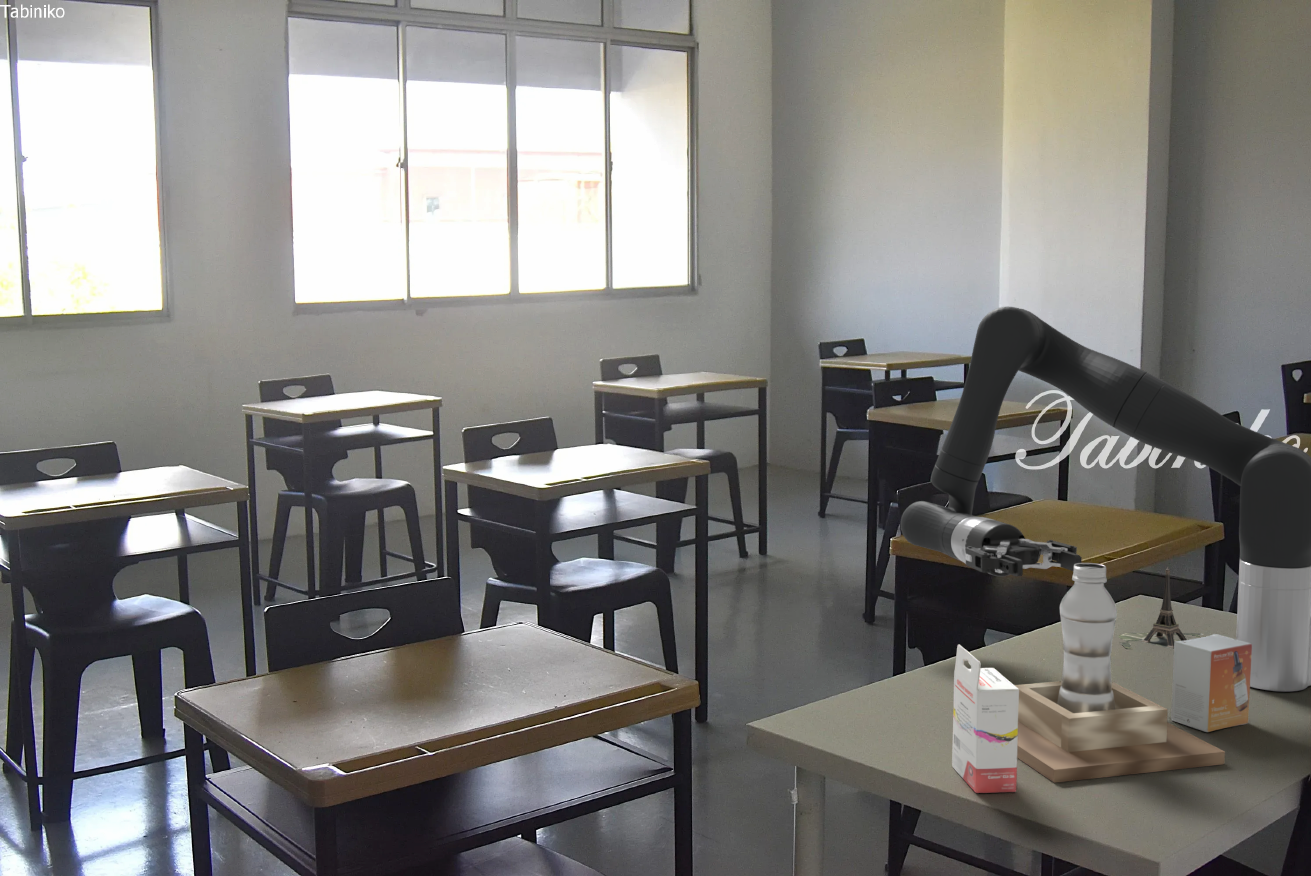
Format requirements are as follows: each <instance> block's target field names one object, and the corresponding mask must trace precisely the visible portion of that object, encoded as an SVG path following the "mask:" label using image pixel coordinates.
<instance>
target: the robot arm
mask: <svg viewBox="0 0 1311 876" xmlns="http://www.w3.org/2000/svg"><path fill="white" fill-rule="evenodd" d="M968 367H969V368H968V371H967V374H966V378H965V382H964V386H963V390H962V393H961V395H960V399H959V402H958V405H957V408H956V410H955V412H954V413H955V414H954V416H953V420H952V421H951V424H950V426H949V428H948V432H947V434H946V437H945V439H944V441H943V444H942V447H941V449H940V452H939V454H938V456H937V459H936V461H935V464H934V467H933V469H932V472H931V475H930V482H931V484H932V485H933V487H935V488H936V489H937V490H939V491H940V492H943V493H944V494H945V495H948V506H947V507H946V506H943V505H940V504H936V503H931V502H929V501H924V500H921V501H920V500H919V501H915V502H913V503H911V504H910V505H909V506H908V507H906V509H904V511H903V513H902V515H901V518H900V530H901V534H902V536H903V538H904V539H905V541H907V542H908V543H910V544H911V545H913V546H917V547H921V548H924V549H928V550H932V551H935V552H940V553H942V554H944V555H947V556H949V557H951V558H952V559H955V560H958V561H960V562H962V563H964V564H965V566H967V567H969V568H971V569H973V570H975V571H978V572H980V573H983V574H989V575H992V576H995V577H1002V578H1003V577H1008V576H1010V575H1011V576H1012V577H1013V576H1014V577H1022V576H1023V574H1024V573H1023V572H1024V571H1023V569H1024V570H1025V569H1029V568H1033V569H1042V570H1047V569H1049V568H1051V567H1056V568H1057V567H1059V568H1061V569H1065V570H1067V571H1072V572H1073V571H1074V564H1077V563H1083V562H1082V560H1083V559H1082V556H1081V555H1080V554H1077V551H1078V547H1077V546H1075V545H1071V544H1068V543H1063V542H1059V541H1055V540H1054V539H1049V540H1046V542H1043V541H1033V540H1031V539H1029V538H1026V537H1025V536H1024V534H1023V532H1022V531H1021V530H1020V529H1019V528H1018V527H1016V526H1014V525H1012V524H1010V523H1005V522H1002V521H999V520H997V519H992V518H989V517H985V516H984V517H983V516H976V515H973V509H974V502H975V495H976V489H977V486H978V484H979V481H980V479H981V476H982V473H983V471H984V469H985V466H986V464H987V461H988V458H989V456H990V453H991V449H992V446H993V442H994V437H995V433H996V428H997V424H998V419H999V415H1000V410H1001V409H1002V405H1003V402H1004V400H1005V397H1006V395H1007V393H1008V389H1009V388H1010V386H1011V383H1012V382H1013V380H1014V378H1015V376H1016V375H1017V373H1018V372H1022V373H1023V374H1026V375H1029V376H1031V377H1033V378H1036V379H1038V380H1040V381H1043V382H1045V383H1047V384H1049V385H1052V386H1053V387H1056V389H1059V390H1061V391H1062V392H1063V393H1065V394H1066V395H1068V396H1069V397H1070V398H1072V399H1073V400H1074V401H1075V402H1076V403H1077V404H1079V405H1080V406H1081V407H1083V408H1084V409H1085V410H1086V411H1088V413H1090V414H1092V415H1094V416H1095V417H1096V418H1098V419H1099V420H1101V422H1104V423H1106V424H1107V425H1109V426H1110V427H1112V428H1114V429H1115V430H1118V431H1119V432H1121V433H1123V434H1125V435H1127V436H1128V437H1130V438H1132V439H1135V440H1136V441H1139V443H1140V442H1141V443H1143V444H1145V445H1147V446H1150V447H1152V448H1155V449H1158V450H1161V451H1163V452H1167V453H1170V454H1172V455H1175V456H1178V457H1182V458H1186V459H1187V460H1191V461H1194V462H1197V463H1199V464H1201V465H1204V466H1206V467H1208V468H1209V469H1211V470H1213V471H1215V472H1218V473H1219V474H1221V475H1222V476H1224V477H1225V478H1227V479H1228V480H1231V481H1232V482H1234V483H1235V484H1236V485H1238V486H1239V487H1240V488H1239V489H1240V492H1239V493H1240V494H1239V518H1238V519H1239V522H1238V523H1239V527H1238V540H1239V569H1238V591H1237V592H1238V594H1237V617H1236V633H1235V634H1236V637H1235V639H1237V640H1241V641H1244V642H1248V643H1251V644H1252V655H1251V675H1250V688H1254V689H1260V690H1263V691H1264V690H1265V691H1272V692H1298V691H1303V690H1305V689H1306V688H1308V687H1310V686H1311V456H1310V455H1309V454H1308V453H1307V452H1306V451H1304V450H1302V449H1300V448H1299V447H1296V446H1293V445H1291V444H1288V443H1286V442H1283V441H1280V440H1278V439H1275V438H1272V437H1270V436H1267V435H1265V434H1262V433H1260V432H1257V431H1256V430H1252V429H1251V428H1248V427H1246V426H1243V425H1241V424H1239V423H1237V422H1235V421H1233V420H1231V419H1230V418H1228V417H1225V416H1223V415H1222V414H1221V413H1219V412H1218V411H1217V410H1215V409H1213V408H1211V407H1210V406H1209V405H1207V404H1205V403H1204V402H1202V401H1200V400H1198V399H1197V398H1196V397H1193V396H1192V395H1190V394H1188V393H1187V392H1185V391H1183V390H1181V389H1180V388H1177V387H1175V386H1174V385H1173V384H1171V383H1169V382H1168V381H1165V380H1163V379H1161V378H1159V377H1157V376H1155V375H1153V374H1151V373H1149V372H1148V371H1146V370H1143V369H1140V368H1139V367H1136V366H1134V365H1131V364H1130V363H1127V362H1125V361H1123V360H1120V359H1118V358H1115V357H1113V356H1110V355H1108V354H1107V355H1106V354H1104V353H1103V352H1099V351H1096V350H1093V349H1091V348H1089V347H1086V346H1084V345H1082V344H1080V343H1078V342H1077V341H1075V340H1073V339H1072V338H1071V337H1068V336H1067V335H1066V334H1064V333H1062V332H1060V331H1059V330H1057V329H1056V328H1054V327H1053V326H1052V325H1050V324H1049V323H1047V322H1046V321H1044V320H1043V319H1042V318H1040V317H1039V316H1038V315H1036V314H1035V313H1033V312H1031V311H1029V310H1026V309H1024V308H1019V307H1015V306H1001V307H998V308H995V309H992V310H991V311H989V312H988V313H987V314H986V315H984V317H983V318H982V320H980V322H979V324H978V326H977V331H976V334H975V339H974V345H973V348H972V353H971V358H970V363H969V366H968ZM1041 556H1042V562H1039V560H1040V559H1041Z"/></svg>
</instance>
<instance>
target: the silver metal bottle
mask: <svg viewBox="0 0 1311 876" xmlns="http://www.w3.org/2000/svg"><path fill="white" fill-rule="evenodd" d="M1072 572H1073V574H1072V576H1071V577H1072V578H1071V580H1072V581H1074V582H1073V583H1074V584H1073V585H1072V586H1071V588H1070V589H1069V590H1068V591H1067V592H1066V593H1065V594H1064V596H1063V598H1062V599H1061V601H1060V604H1059V615H1060V622H1061V632H1062V641H1063V642H1062V643H1063V644H1062V645H1063V646H1062V647H1063V648H1062V649H1063V665H1062V675H1061V681H1062V683H1061V685H1062V686H1061V687H1060V690H1059V695H1058V702H1057V704H1058V705H1059V706H1061V707H1063V708H1065V709H1066V710H1068V711H1070V712H1072V713H1083V712H1094V711H1104V710H1115V702H1114V695H1113V691H1112V682H1113V681H1112V670H1111V669H1112V668H1111V661H1112V655H1111V654H1112V649H1113V648H1112V647H1113V638H1114V634H1115V627H1116V622H1117V621H1116V620H1117V617H1118V616H1117V614H1118V610H1117V606H1116V602H1115V601H1114V599H1113V598H1112V596H1111V594H1110V593H1109V591H1108V590H1107V588H1106V587H1105V583H1107V580H1108V578H1107V566H1106V565H1104V564H1101V563H1093V562H1082V563H1077V564H1074V571H1072Z"/></svg>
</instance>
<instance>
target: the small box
mask: <svg viewBox="0 0 1311 876" xmlns="http://www.w3.org/2000/svg"><path fill="white" fill-rule="evenodd" d="M1205 636H1206V635H1205ZM1251 655H1252V644H1251V643H1248V642H1244V641H1241V640H1237V639H1236V638H1233V637H1230V636H1226V635H1222V634H1217V633H1213V634H1211V635H1207V636H1206V637H1201V638H1190V639H1187V640H1184V641H1175V642H1174V649H1173V667H1172V670H1173V671H1172V687H1171V688H1172V690H1171V693H1172V694H1171V716H1170V719H1171V721H1172V722H1175V723H1179V724H1181V725H1184V726H1187V727H1189V728H1192V729H1196V730H1198V731H1201V732H1204V733H1210V732H1213V731H1217V730H1222V729H1226V728H1232V727H1237V726H1242V725H1247V724H1248V723H1249V711H1250V710H1249V709H1250V693H1251V692H1250V691H1251V687H1250V675H1251Z"/></svg>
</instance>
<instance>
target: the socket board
mask: <svg viewBox="0 0 1311 876" xmlns="http://www.w3.org/2000/svg"><path fill="white" fill-rule="evenodd" d="M1061 683H1062V680H1060V681H1058V680H1057V681H1047V682H1037V683H1026V684H1025V683H1024V684H1014V685H1015V686H1016V687H1017V688H1018V689H1019V705H1018V742H1017V760H1020V761H1021V762H1023V763H1024V764H1026V765H1028V766H1029V767H1031V768H1032V769H1033V770H1035V771H1037V772H1038V773H1039V774H1041V775H1042V776H1043V777H1045V778H1047V780H1049V781H1051V782H1052V783H1064V782H1073V781H1080V780H1082V781H1083V780H1092V779H1101V778H1109V777H1118V776H1119V777H1120V776H1128V775H1136V774H1137V775H1138V774H1146V773H1147V774H1148V773H1154V772H1155V773H1156V772H1164V771H1174V770H1183V769H1193V768H1201V767H1209V766H1220V765H1225V757H1226V754H1225V753H1226V751H1225V750H1222V749H1221V748H1219V747H1216V746H1215V745H1212V744H1211V743H1209V742H1206V740H1203V739H1201V738H1200V737H1197V736H1195V735H1194V734H1191V733H1190V732H1188V731H1186V730H1183V729H1182V728H1179V727H1177V726H1176V725H1174V724H1172V723H1170V722H1168V708H1166V707H1164V706H1162V705H1159V704H1158V703H1156V702H1154V701H1152V700H1150V699H1148V698H1146V697H1144V696H1143V695H1139V694H1138V693H1136V692H1134V691H1131V690H1130V689H1128V688H1125V687H1124V686H1122V685H1120V684H1118V683H1116V682H1114V681H1112V691H1113V695H1114V702H1115V710H1104V711H1094V712H1083V713H1072V712H1070V711H1068V710H1066V709H1065V708H1063V707H1061V706H1059V705H1058V704H1057V702H1058V695H1059V690H1060V687H1061V686H1062V685H1061Z"/></svg>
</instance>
